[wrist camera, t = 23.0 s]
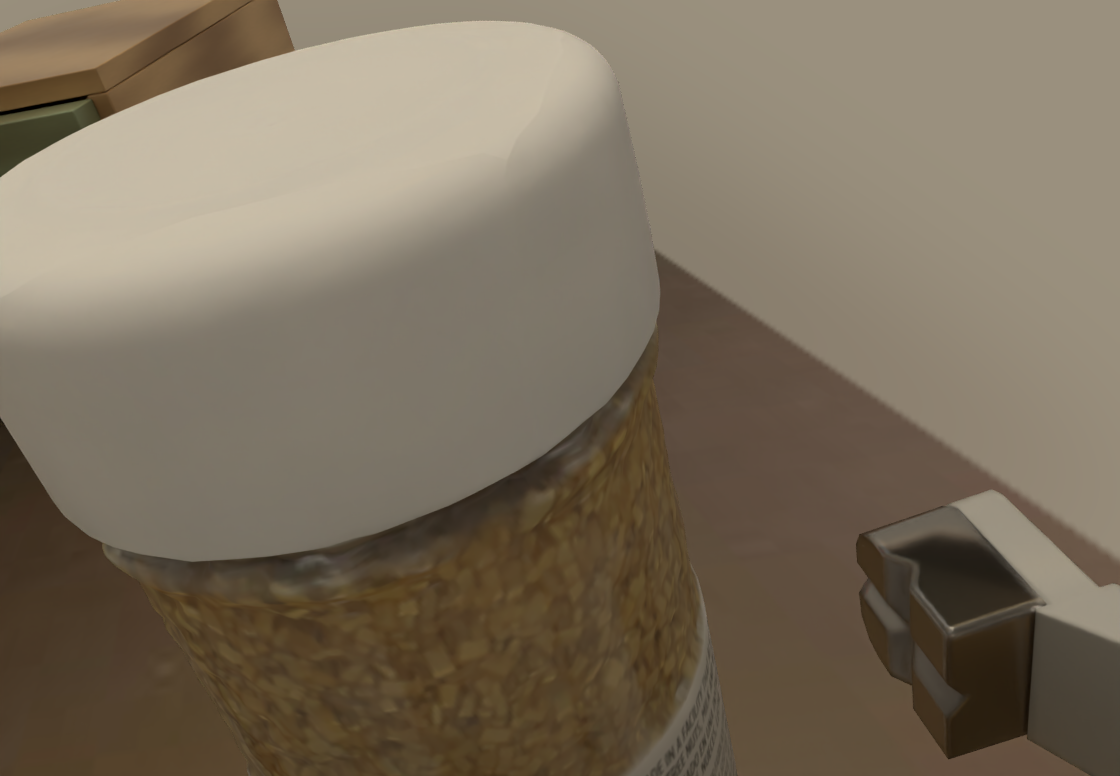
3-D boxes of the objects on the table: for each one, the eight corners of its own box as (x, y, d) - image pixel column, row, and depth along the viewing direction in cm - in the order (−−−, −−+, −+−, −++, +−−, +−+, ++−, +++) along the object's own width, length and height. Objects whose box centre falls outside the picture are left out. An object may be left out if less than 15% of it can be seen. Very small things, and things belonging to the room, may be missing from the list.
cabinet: (213, 322, 37) (95, 67, 32) (-64, 357, 40) (-213, 129, 35) (338, 171, 49) (266, -32, 44) (117, 206, 52) (26, 20, 47)
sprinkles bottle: (558, 855, 16) (254, 25, 9) (836, 962, 14) (723, -29, 7) (401, 1161, 13) (-256, 260, 6) (727, 1362, 11) (303, 305, 4)
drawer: (115, 385, 32) (-8, 159, 28) (-164, 416, 35) (-314, 214, 31) (304, 174, 47) (241, 4, 42) (96, 207, 49) (18, 51, 45)
